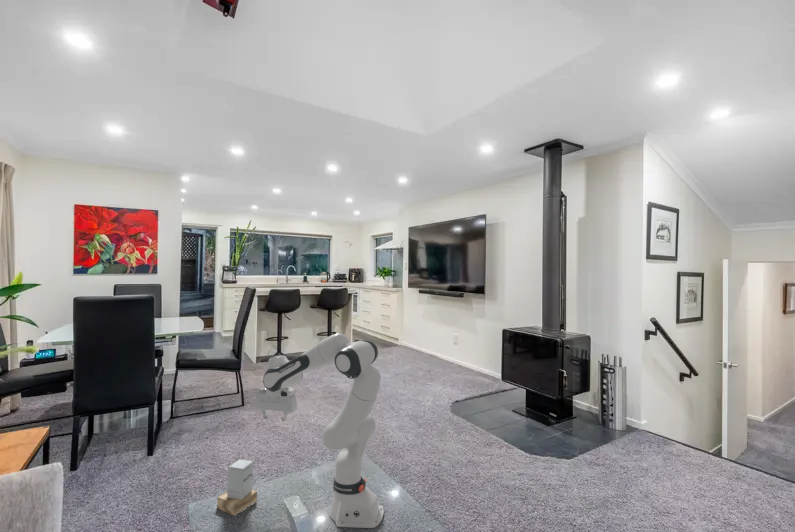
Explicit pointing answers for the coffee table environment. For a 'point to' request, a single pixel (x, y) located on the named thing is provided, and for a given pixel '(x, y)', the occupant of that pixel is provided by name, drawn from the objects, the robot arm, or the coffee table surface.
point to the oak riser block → (235, 503)
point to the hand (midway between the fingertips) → (274, 419)
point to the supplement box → (240, 479)
